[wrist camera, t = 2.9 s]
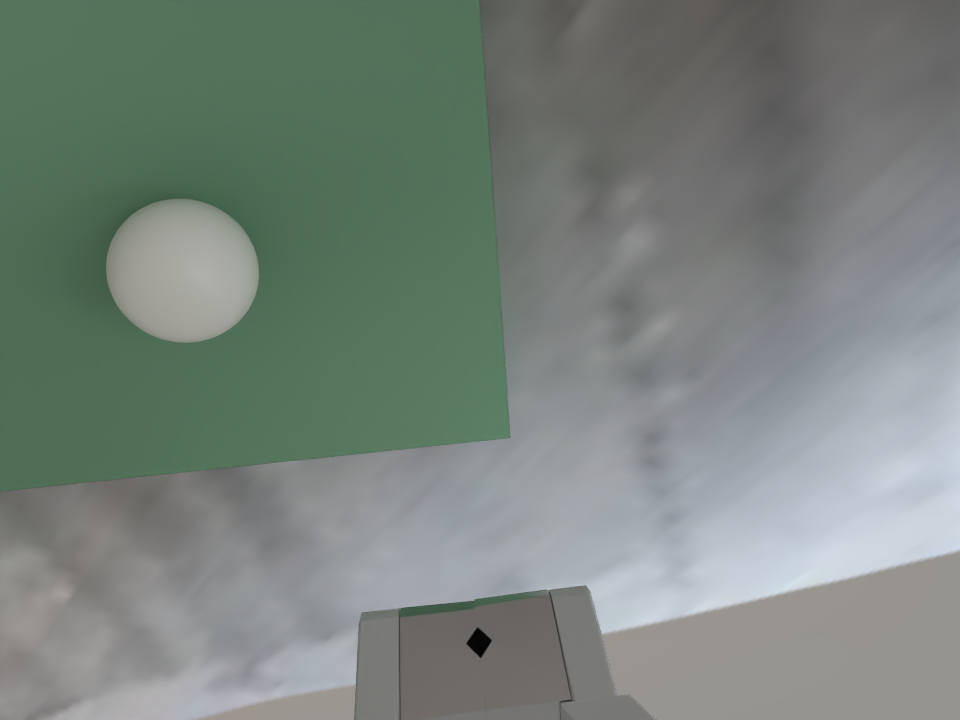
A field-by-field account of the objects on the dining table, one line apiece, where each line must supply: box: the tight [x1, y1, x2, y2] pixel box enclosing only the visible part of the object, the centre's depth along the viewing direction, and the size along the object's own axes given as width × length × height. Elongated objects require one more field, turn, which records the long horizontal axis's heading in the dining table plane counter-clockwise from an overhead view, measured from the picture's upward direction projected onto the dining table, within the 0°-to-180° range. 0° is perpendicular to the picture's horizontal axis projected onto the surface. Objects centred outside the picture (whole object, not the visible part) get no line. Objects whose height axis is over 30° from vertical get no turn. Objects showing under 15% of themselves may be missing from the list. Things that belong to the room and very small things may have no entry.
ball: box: [106, 198, 259, 343], centre depth 20 cm, size 4×4×4 cm
